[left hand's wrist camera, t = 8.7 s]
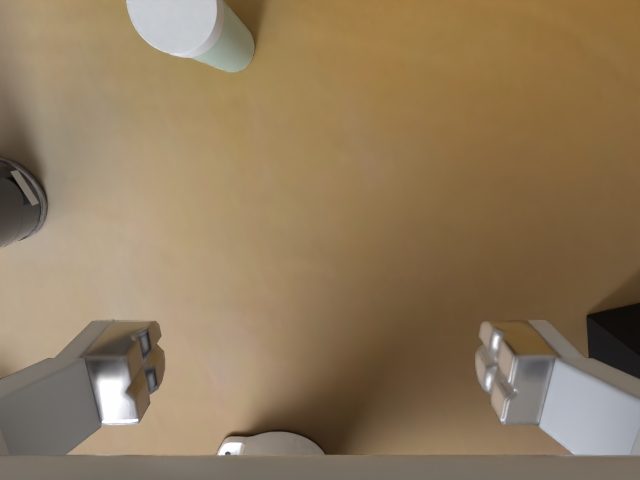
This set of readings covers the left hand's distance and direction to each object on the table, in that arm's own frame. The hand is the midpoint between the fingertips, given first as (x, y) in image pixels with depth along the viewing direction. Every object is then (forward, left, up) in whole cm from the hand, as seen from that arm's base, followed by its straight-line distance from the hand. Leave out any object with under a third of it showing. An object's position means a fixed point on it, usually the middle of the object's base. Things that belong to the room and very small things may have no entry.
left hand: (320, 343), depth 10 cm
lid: (+4, +14, -18) cm, 23 cm away
